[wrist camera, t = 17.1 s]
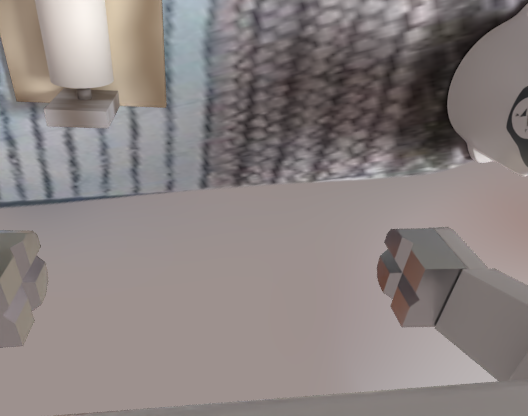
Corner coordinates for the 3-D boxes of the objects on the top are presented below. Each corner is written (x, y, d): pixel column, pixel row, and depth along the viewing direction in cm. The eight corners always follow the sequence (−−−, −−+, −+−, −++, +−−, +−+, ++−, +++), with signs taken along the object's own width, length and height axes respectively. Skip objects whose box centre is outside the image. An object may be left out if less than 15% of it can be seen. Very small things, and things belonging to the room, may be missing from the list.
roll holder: (158, -86, 33) (149, -93, 27) (166, 104, 41) (161, 130, 36) (-30, -108, 31) (-83, -121, 25) (20, 98, 39) (-11, 124, 33)
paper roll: (63, -59, 33) (5, -64, 29) (113, -53, 31) (60, -58, 27) (83, 72, 39) (37, 83, 35) (126, 82, 37) (83, 95, 33)
